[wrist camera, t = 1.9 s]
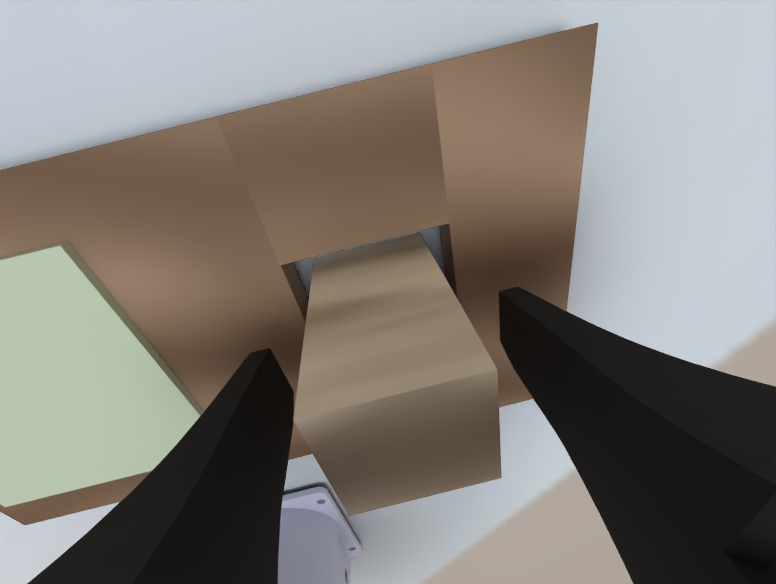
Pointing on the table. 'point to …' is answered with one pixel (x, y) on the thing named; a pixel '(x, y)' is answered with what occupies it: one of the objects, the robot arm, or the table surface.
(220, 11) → the table surface
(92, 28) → the table surface
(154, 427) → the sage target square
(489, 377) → the maple block
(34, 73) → the table surface
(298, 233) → the walnut pocket board
